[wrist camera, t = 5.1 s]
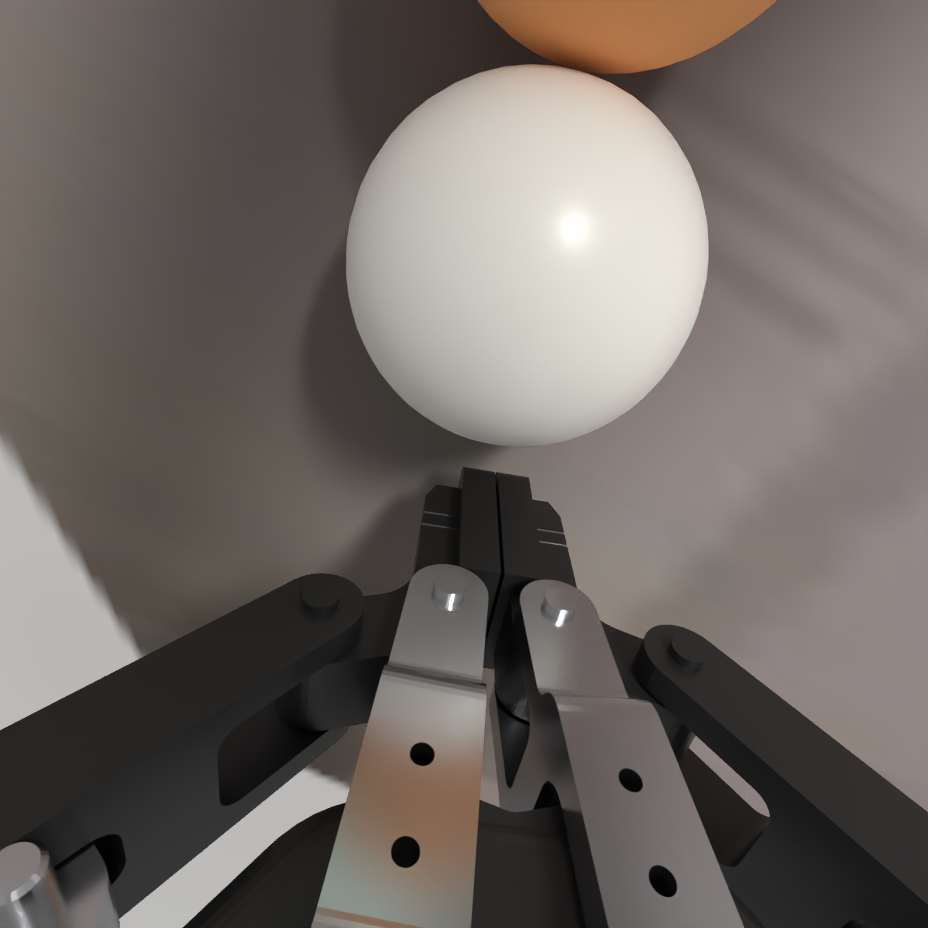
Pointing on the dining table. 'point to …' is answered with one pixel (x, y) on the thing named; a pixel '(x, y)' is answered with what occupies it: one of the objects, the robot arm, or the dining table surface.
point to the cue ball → (527, 255)
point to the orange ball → (621, 29)
